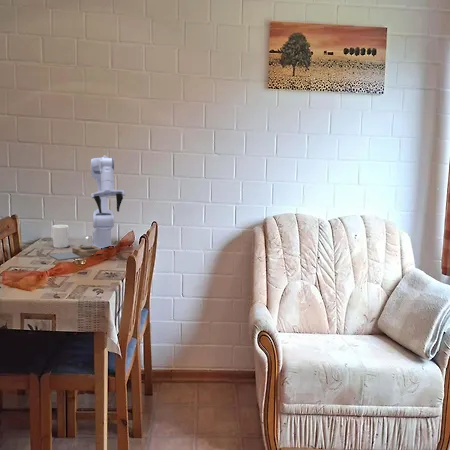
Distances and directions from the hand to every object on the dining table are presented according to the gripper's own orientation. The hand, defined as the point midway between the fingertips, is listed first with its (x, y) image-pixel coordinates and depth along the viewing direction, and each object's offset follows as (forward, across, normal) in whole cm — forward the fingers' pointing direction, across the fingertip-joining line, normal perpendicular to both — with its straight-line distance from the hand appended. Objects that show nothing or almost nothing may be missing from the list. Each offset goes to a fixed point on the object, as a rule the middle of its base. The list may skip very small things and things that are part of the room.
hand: (109, 211), depth 235 cm
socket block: (+13, -14, +18) cm, 26 cm away
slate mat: (+15, -22, +12) cm, 29 cm away
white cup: (+5, -28, +29) cm, 41 cm away
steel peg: (+13, -14, +18) cm, 26 cm away
